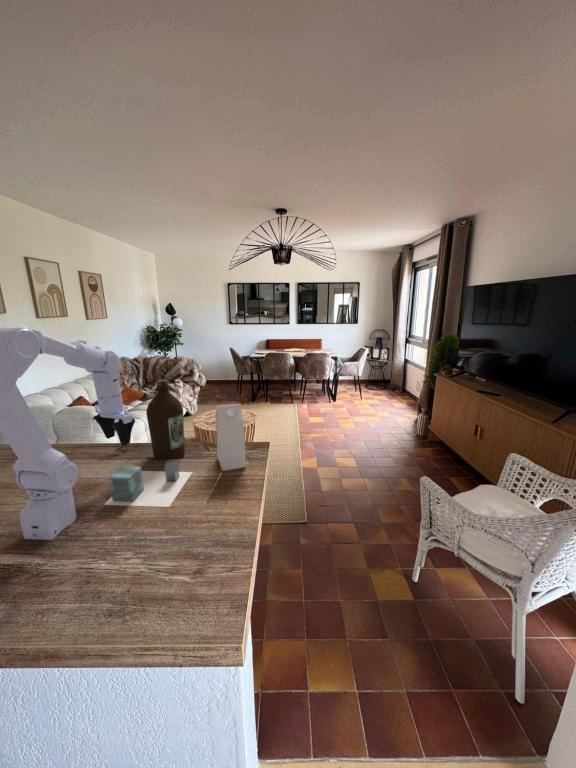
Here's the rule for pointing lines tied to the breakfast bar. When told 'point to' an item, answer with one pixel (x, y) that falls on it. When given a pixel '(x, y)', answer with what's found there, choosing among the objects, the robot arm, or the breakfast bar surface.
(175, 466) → the metal post
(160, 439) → the olive oil
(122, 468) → the teal brushed cube
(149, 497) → the base board
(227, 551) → the breakfast bar surface
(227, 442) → the milk carton
